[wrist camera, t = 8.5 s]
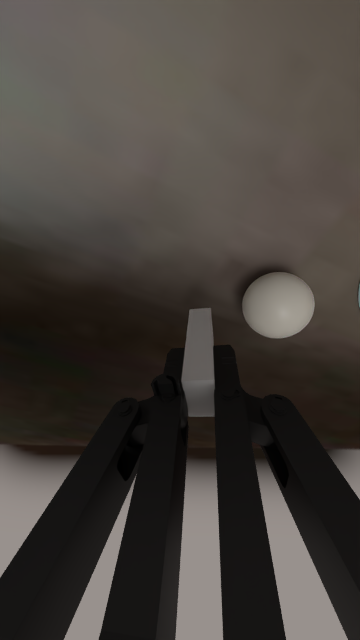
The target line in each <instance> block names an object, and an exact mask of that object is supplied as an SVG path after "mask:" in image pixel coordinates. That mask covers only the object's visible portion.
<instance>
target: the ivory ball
mask: <svg viewBox="0 0 360 640" xmlns="http://www.w3.org/2000/svg"><path fill="white" fill-rule="evenodd" d="M314 308H315V302H314V296H313V293H312V291H311V289H310V287H309V286H308V285H307V284H306V282H304V281H303V280H302V279H301V278H299V277H297V276H295V275H293V274H290V273H286V272H273V273H268V274H266V275H263V276H261V277H259V278H258V279H256V280H255V281H254V282H253V283H252V284H251V285H250V286H249V287H248V289H247V290H246V292H245V294H244V297H243V302H242V310H243V315H244V318H245V320H246V322H247V323H248V325H249V326H250V327H251V328H252V329H253V330H254V331H256V332H257V333H259V334H261V335H263V336H266V337H269V338H286V337H289V336H292V335H294V334H296V333H298V332H300V331H301V330H302V329H303V328H305V326H306V325H307V324H308V323H309V321H310V320H311V318H312V316H313V313H314Z"/></svg>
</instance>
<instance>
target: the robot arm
mask: <svg viewBox="0 0 360 640" xmlns="http://www.w3.org/2000/svg"><path fill="white" fill-rule="evenodd" d="M151 386H152V389H153V392H154V396H153V397H151V398H149V399H146V400H143V401H140V402H137V400H136V399H134V398H124V399H121V400H120V401H118V402H117V403H116V404H115V405H114V406H113V408H112V409H111V411H110V412H109V414H108V415H107V417H106V418H105V420H104V421H103V423H102V424H101V426H100V427H99V429H98V430H97V432H96V433H95V435H94V437H93V438H92V440H91V441H90V443H89V444H88V446H87V447H86V449H85V450H84V452H83V453H82V455H81V456H80V458H79V459H78V461H77V462H76V464H75V465H74V467H73V469H72V470H71V471H70V473H69V475H68V476H67V478H66V479H65V480H64V482H63V484H62V485H61V487H60V488H59V490H58V491H57V493H56V494H55V496H54V497H53V499H52V500H51V502H50V503H49V505H48V506H47V508H46V509H45V511H44V512H43V514H42V516H41V517H40V518H39V520H38V521H37V523H36V524H35V526H34V528H33V529H32V531H31V532H30V534H29V535H28V537H27V538H26V540H25V541H24V543H23V544H22V546H21V548H20V549H19V551H18V552H17V553H16V555H15V556H14V558H13V559H12V561H11V562H10V564H9V565H8V567H7V569H6V570H5V572H4V573H3V575H2V576H1V578H0V640H64V638H65V635H66V633H67V631H68V628H69V626H70V624H71V622H72V619H73V617H74V615H75V612H76V610H77V608H78V606H79V603H80V601H81V599H82V597H83V594H84V592H85V590H86V587H87V585H88V583H89V581H90V578H91V576H92V574H93V572H94V569H95V567H96V565H97V562H98V560H99V558H100V556H101V553H102V551H103V549H104V546H105V544H106V542H107V540H108V537H109V535H110V533H111V531H112V528H113V526H114V523H115V521H116V519H117V517H118V515H119V512H120V510H121V508H122V505H123V503H124V501H125V499H126V496H127V494H128V492H129V490H130V487H131V485H132V483H133V480H134V478H135V476H136V480H135V484H134V489H133V493H132V497H131V502H130V506H129V511H128V515H127V519H126V524H125V528H124V533H123V537H122V541H121V546H120V550H119V555H118V559H117V563H116V567H115V572H114V576H113V581H112V585H111V589H110V594H109V598H108V603H107V607H106V611H105V616H104V620H103V624H102V629H101V633H100V636H99V640H175V633H176V617H177V603H178V587H179V586H178V585H179V571H180V555H181V539H182V522H183V507H184V491H185V475H186V459H187V444H188V428H189V427H188V421H187V418H188V415H189V417H205V416H215V436H216V461H217V488H218V513H219V540H220V564H221V565H220V566H221V589H222V590H221V592H222V617H223V640H286V637H285V631H284V625H283V620H282V614H281V608H280V602H279V596H278V591H277V585H276V580H275V574H274V568H273V562H272V556H271V551H270V545H269V539H268V534H267V528H266V522H265V516H264V511H263V505H262V499H261V493H260V488H259V482H258V476H257V470H256V465H255V460H254V454H253V448H252V442H254V443H257V444H260V446H261V448H262V450H263V453H264V455H265V457H266V459H267V461H268V463H269V466H270V468H271V470H272V472H273V475H274V477H275V479H276V481H277V483H278V485H279V488H280V490H281V492H282V494H283V497H284V499H285V501H286V503H287V505H288V508H289V510H290V512H291V514H292V517H293V519H294V521H295V523H296V525H297V528H298V530H299V532H300V534H301V536H302V538H303V541H304V543H305V545H306V547H307V550H308V552H309V554H310V556H311V558H312V561H313V563H314V565H315V567H316V570H317V572H318V574H319V576H320V578H321V581H322V583H323V585H324V587H325V589H326V591H327V594H328V596H329V598H330V600H331V603H332V604H333V607H334V609H335V612H336V614H337V616H338V618H339V620H340V623H341V625H342V627H343V629H344V631H345V634H346V636H347V638H348V640H360V500H359V498H358V497H357V495H356V494H355V492H354V491H353V490H352V488H351V487H350V485H349V484H348V482H347V481H346V479H345V478H344V477H343V475H342V474H341V473H340V471H339V469H338V468H337V466H336V465H335V464H334V462H333V461H332V459H331V458H330V456H329V455H328V454H327V452H326V451H325V449H324V448H323V446H322V445H321V443H320V442H319V441H318V439H317V438H316V436H315V435H314V433H313V432H312V430H311V429H310V428H309V426H308V425H307V423H306V422H305V420H304V419H303V417H302V416H301V415H300V413H299V412H298V410H297V409H296V407H295V406H294V404H293V403H292V402H291V401H290V400H289V399H287V398H286V397H284V396H281V395H277V394H273V395H268V396H266V397H265V398H264V399H262V398H258V397H254V396H251V395H249V394H248V393H246V392H245V391H244V390H243V389H242V387H241V385H240V381H239V375H238V369H237V364H236V358H235V352H234V349H233V348H232V347H231V346H230V345H218V346H214V340H213V328H212V316H211V308H201V309H190V311H189V319H188V328H187V336H186V345H185V348H173V349H171V350H170V352H169V353H168V354H167V359H166V364H165V368H164V373H163V374H161V375H159V376H157V377H156V378H155V379H154V380H153V381H152V383H151ZM136 474H137V475H136Z"/></svg>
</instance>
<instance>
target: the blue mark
mask: <svg viewBox="0 0 360 640" xmlns="http://www.w3.org/2000/svg"><path fill="white" fill-rule="evenodd" d="M358 303H359V307H360V283H359V288H358Z"/></svg>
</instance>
